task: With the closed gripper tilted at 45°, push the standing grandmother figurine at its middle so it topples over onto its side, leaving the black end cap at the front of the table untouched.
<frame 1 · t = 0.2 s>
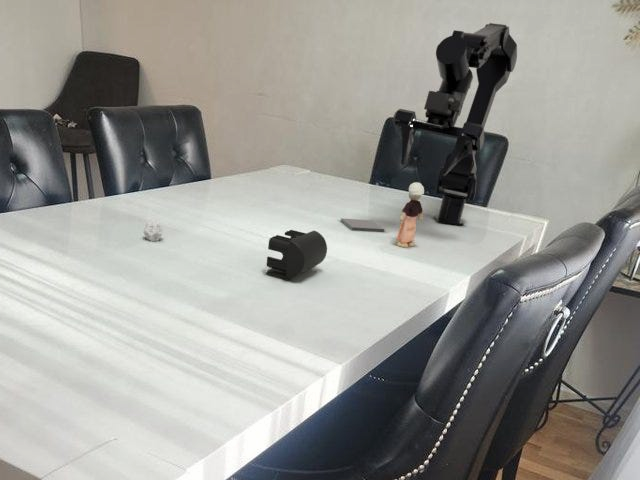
hand: (422, 169, 135), 15 cm above the table, tool tilted 30°, fingers open, 9 cm apart
whitish grey rough lump: (153, 240, 122), on the table
slate coaster: (362, 226, 151), on the table
end cap: (294, 275, 115), on the table
grandmother figurine: (403, 246, 141), on the table
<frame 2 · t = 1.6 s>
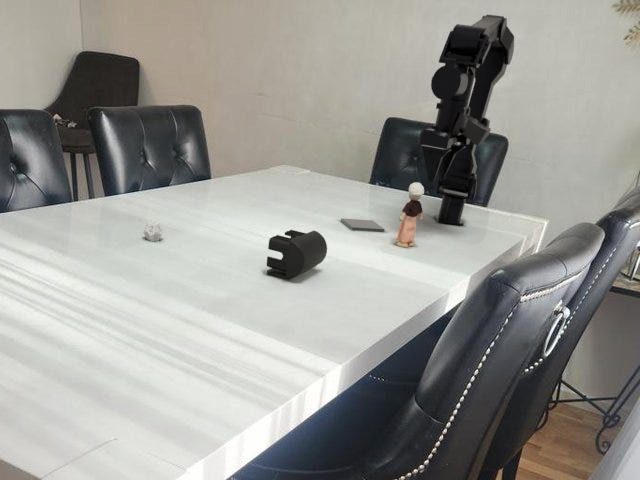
hand: (436, 180, 142), 12 cm above the table, tool pointing down, fingers open, 7 cm apart
nothing on the table moved.
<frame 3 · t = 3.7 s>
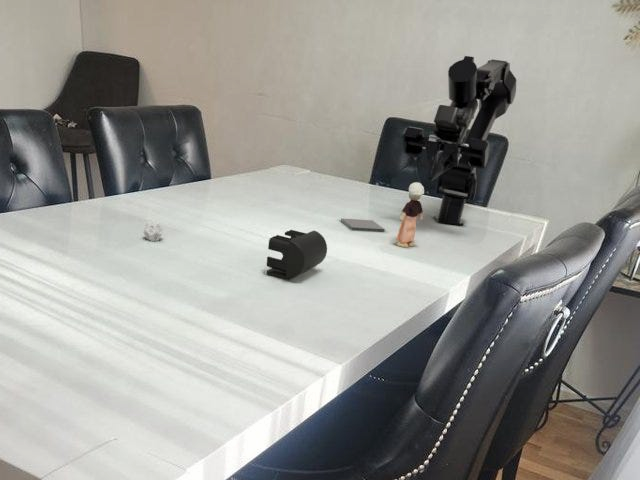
hand: (429, 179, 140), 12 cm above the table, tool tilted 45°, fingers closed
nothing on the table moved.
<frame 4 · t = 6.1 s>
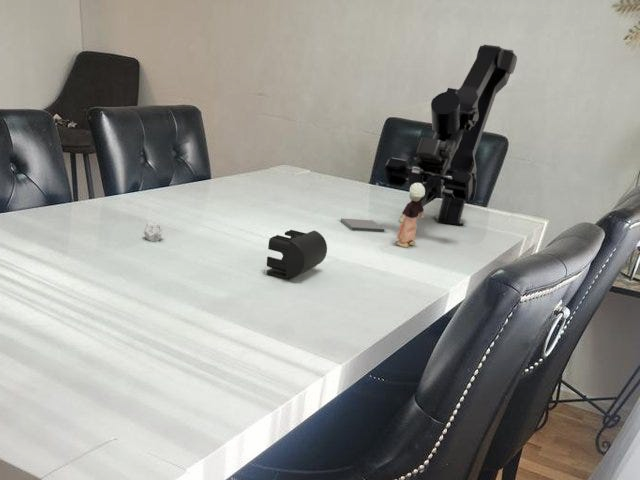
hand: (412, 211, 138), 7 cm above the table, tool tilted 45°, fingers closed
grandmother figurine: (403, 245, 141), on the table, touching gripper
everything else where it was.
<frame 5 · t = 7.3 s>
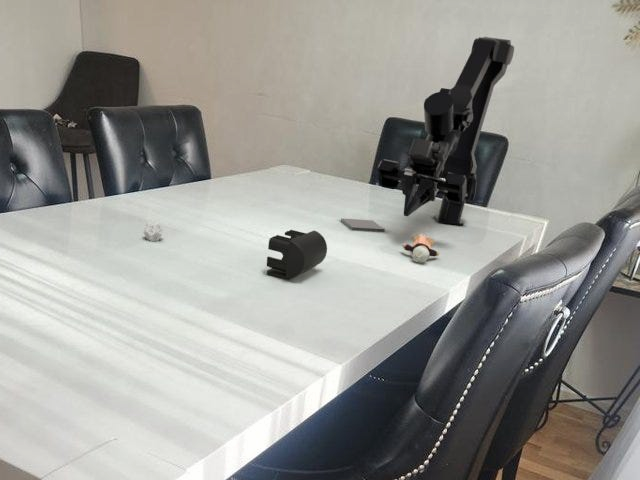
hand: (405, 214, 134), 7 cm above the table, tool tilted 45°, fingers closed
grandmother figurine: (420, 242, 138), point 1 cm above the table
everything else where it was.
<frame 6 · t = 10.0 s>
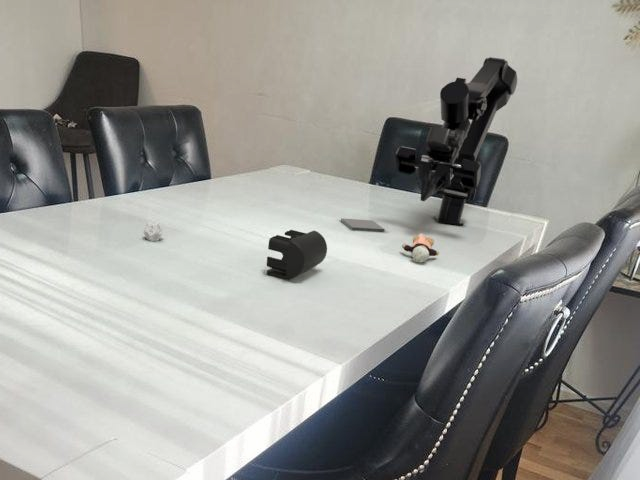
hand: (422, 199, 141), 9 cm above the table, tool tilted 45°, fingers closed
nothing on the table moved.
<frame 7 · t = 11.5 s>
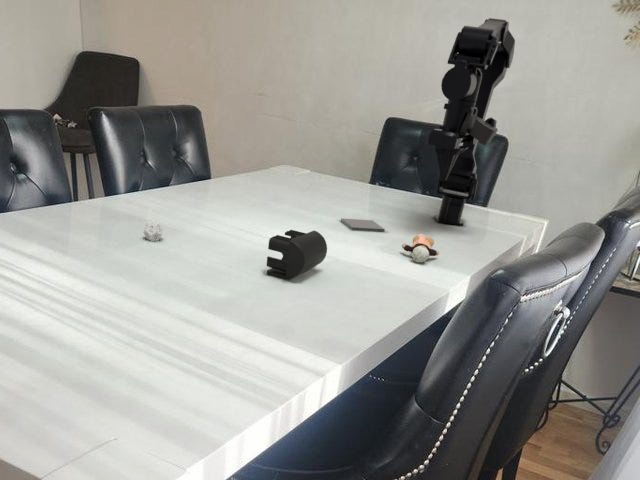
hand: (443, 180, 144), 12 cm above the table, tool pointing down, fingers closed
nothing on the table moved.
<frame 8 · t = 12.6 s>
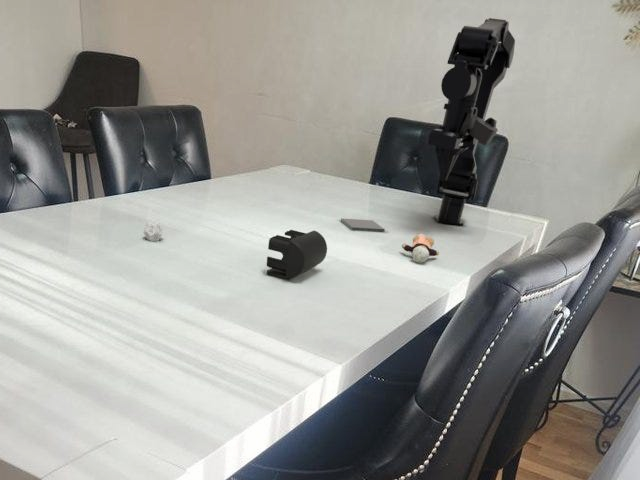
hand: (443, 180, 144), 12 cm above the table, tool pointing down, fingers closed
nothing on the table moved.
at the end: grandmother figurine tilted 87°; end cap moved 0.2 cm from its start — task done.
